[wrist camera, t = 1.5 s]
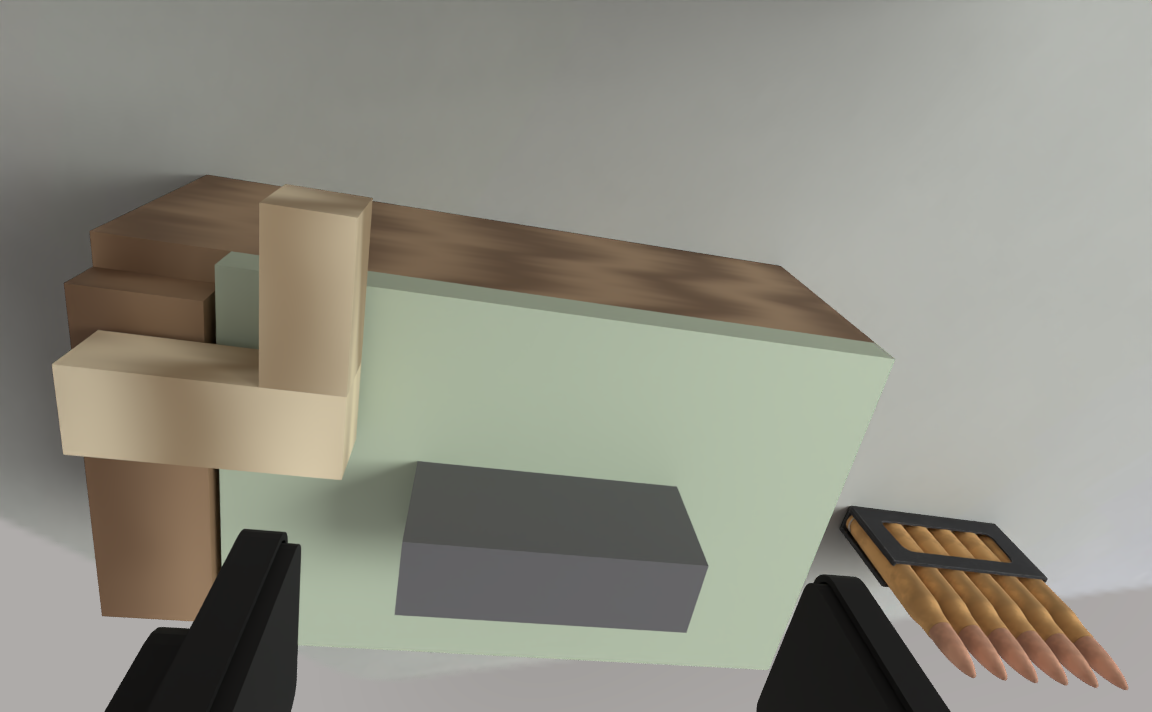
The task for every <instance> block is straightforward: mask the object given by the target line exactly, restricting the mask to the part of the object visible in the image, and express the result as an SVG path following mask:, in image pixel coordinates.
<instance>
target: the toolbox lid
mask: <svg viewBox="0 0 1152 712" xmlns="http://www.w3.org/2000/svg"><path fill="white" fill-rule="evenodd" d="M215 303H216V344H218V345H226V346H235V347H243V348H251V349H259V255H253V254H246V253H239V252H232V251H231V252H230V253H229V254H227V255H226V256H225V257H224V258H222V259H221V260H220V261H219V262H217V263H216V264H215ZM894 361H895V359H894V358H893V357H892V356H891V355H889V354H888V353H887V352H886V351H884V350H883V349H882V348H881V347H880V346H878V345H877V344H876V343H871V342H864V341H857V340H850V339H843V338H836V337H829V336H822V335H815V334H808V333H801V332H794V331H787V330H780V329H773V328H766V327H759V326H752V325H745V324H738V323H731V322H724V321H717V320H710V319H703V318H696V317H689V316H682V315H675V314H668V313H661V312H654V311H647V310H640V309H633V308H625V307H618V306H611V305H604V304H597V303H590V302H583V301H576V300H569V299H562V298H555V297H548V296H541V295H534V294H527V293H520V292H513V291H506V290H499V289H492V288H485V287H478V286H471V285H464V284H457V283H450V282H443V281H436V280H429V279H422V278H415V277H408V276H401V275H394V274H387V273H380V272H373V271H368V273H367V288H366V302H365V317H364V331H363V346H362V360H361V375H360V389H359V404H358V419H357V433H356V440H355V443H354V446H353V449H352V452H351V455H350V458H349V460H348V463H347V466H346V469H345V472H344V475H343V478H342V480H334V479H323V478H313V477H302V476H291V475H280V474H269V473H258V472H247V471H237V470H226V469H219V474H220V517H221V560H222V566H223V564H224V562H225V560H226V558H227V556H228V554H229V552H230V550H231V548H232V546H233V544H234V542H235V540H236V538H237V536H238V535H239V533H240V532H241V530H243V529H255V530H268V531H280V532H286V533H287V536H288V543H294V544H300V545H301V573H300V600H299V627H298V645H304V646H323V647H342V648H361V649H380V650H399V651H418V652H437V653H456V654H475V655H494V656H513V657H532V658H551V659H570V660H589V661H609V662H627V663H647V664H665V665H684V666H702V667H724V668H740V669H759V670H769V668H770V665H771V663H772V660H773V658H774V655H775V653H776V650H777V648H778V645H779V643H780V641H781V638H782V636H783V633H784V631H785V628H786V626H787V623H788V621H789V619H790V616H791V614H792V611H793V609H794V606H795V604H796V601H797V599H798V596H799V594H800V592H801V589H802V587H803V584H804V582H805V579H806V577H807V574H808V572H809V569H810V567H811V565H812V562H813V560H814V557H815V555H816V552H817V550H818V547H819V545H820V543H821V540H822V538H823V535H824V533H825V530H826V528H827V525H828V523H829V520H830V518H831V516H832V513H833V511H834V508H835V506H836V503H837V501H838V498H839V496H840V494H841V491H842V489H843V486H844V484H845V481H846V479H847V476H848V474H849V471H850V469H851V467H852V464H853V462H854V459H855V457H856V454H857V452H858V449H859V447H860V444H861V442H862V440H863V437H864V435H865V432H866V430H867V427H868V425H869V422H870V420H871V418H872V415H873V413H874V410H875V408H876V405H877V403H878V400H879V398H880V395H881V393H882V391H883V388H884V386H885V383H886V381H887V378H888V376H889V373H890V371H891V369H892V366H893V364H894Z"/></svg>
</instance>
